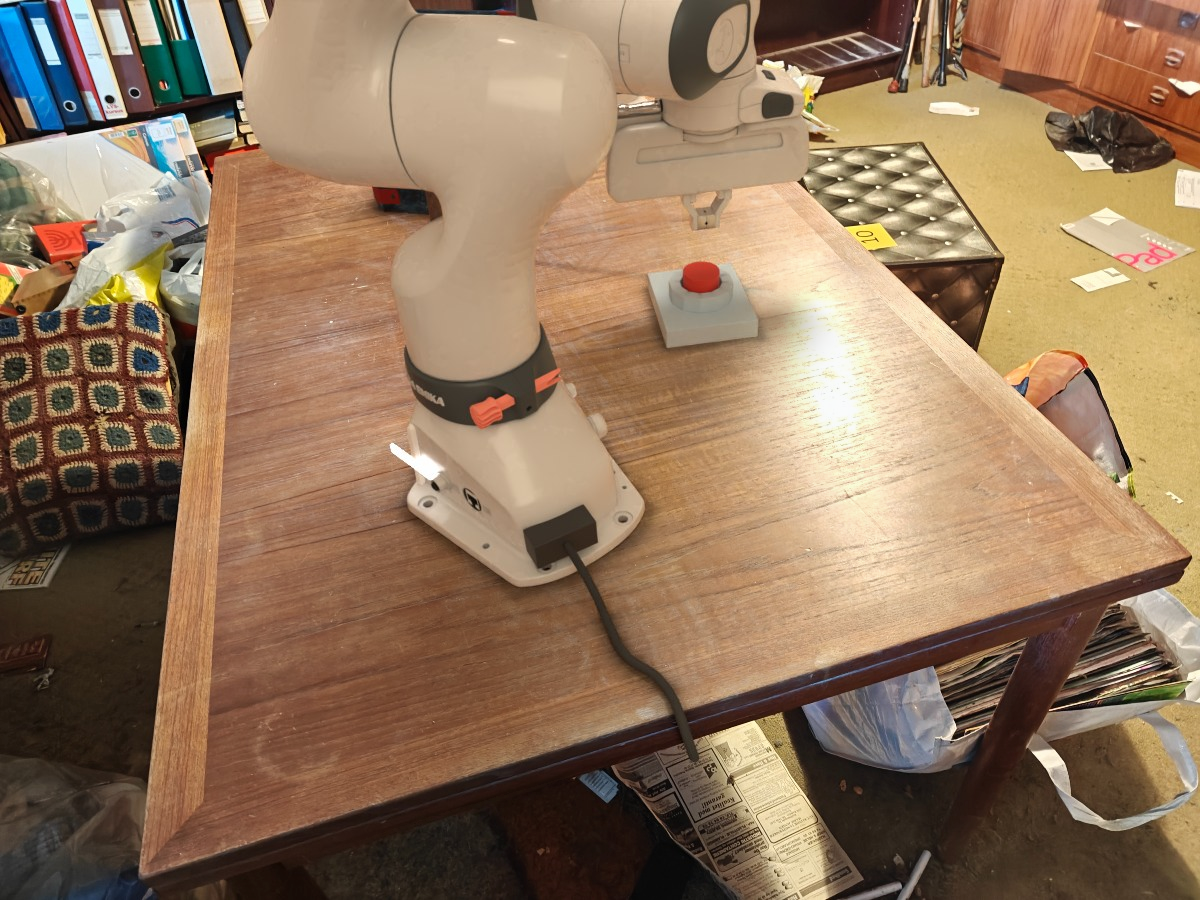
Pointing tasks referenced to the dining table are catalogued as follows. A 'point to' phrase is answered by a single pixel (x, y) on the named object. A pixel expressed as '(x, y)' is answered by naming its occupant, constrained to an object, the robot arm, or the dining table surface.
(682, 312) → the control block
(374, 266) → the dining table surface
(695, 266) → the button
